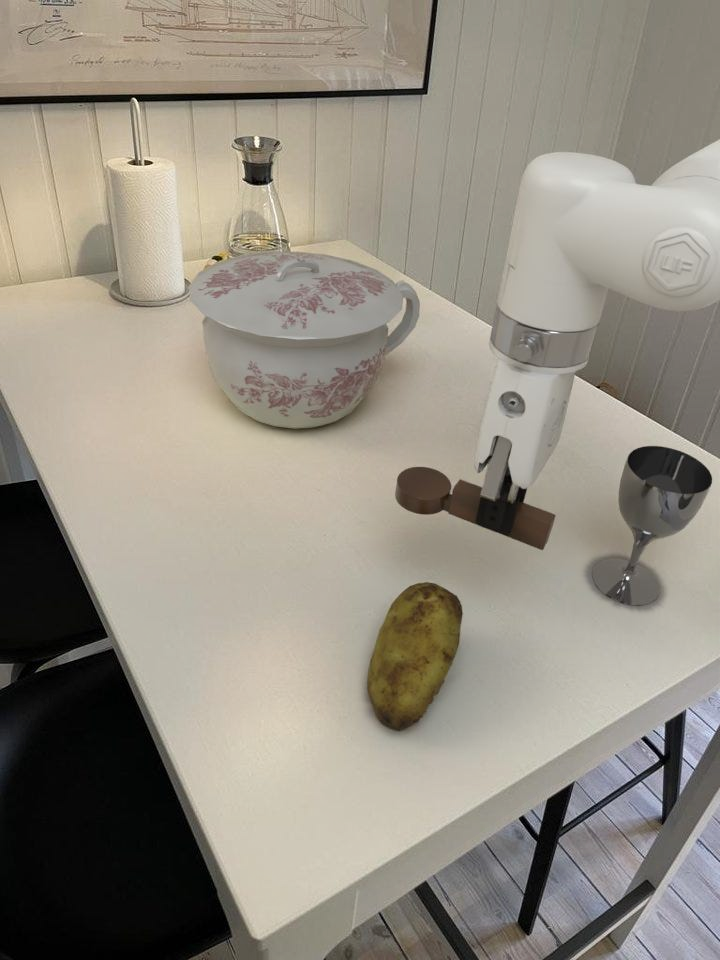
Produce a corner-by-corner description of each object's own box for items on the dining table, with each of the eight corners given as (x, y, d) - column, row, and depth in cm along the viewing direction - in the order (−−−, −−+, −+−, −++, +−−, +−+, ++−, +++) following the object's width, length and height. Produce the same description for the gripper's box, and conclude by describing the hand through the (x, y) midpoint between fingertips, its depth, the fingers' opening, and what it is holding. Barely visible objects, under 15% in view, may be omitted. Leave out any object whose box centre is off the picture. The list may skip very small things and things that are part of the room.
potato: (327, 699, 66) (331, 637, 61) (409, 617, 75) (419, 557, 70) (404, 753, 62) (415, 692, 58) (481, 660, 71) (497, 600, 66)
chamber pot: (158, 428, 98) (142, 276, 86) (245, 342, 120) (242, 211, 107) (362, 478, 93) (377, 323, 80) (415, 379, 114) (433, 244, 102)
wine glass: (663, 617, 77) (714, 502, 68) (585, 595, 79) (625, 481, 70) (663, 568, 83) (711, 457, 74) (591, 548, 85) (628, 438, 76)
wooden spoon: (553, 530, 68) (561, 504, 66) (536, 562, 64) (545, 535, 62) (408, 475, 73) (412, 449, 71) (385, 502, 69) (389, 476, 67)
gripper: (562, 391, 49) (508, 591, 60) (615, 311, 61) (561, 491, 72) (457, 359, 52) (423, 556, 63) (526, 288, 63) (487, 465, 74)
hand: (497, 520), depth 67 cm, fingers closed on wooden spoon, 1 cm apart
